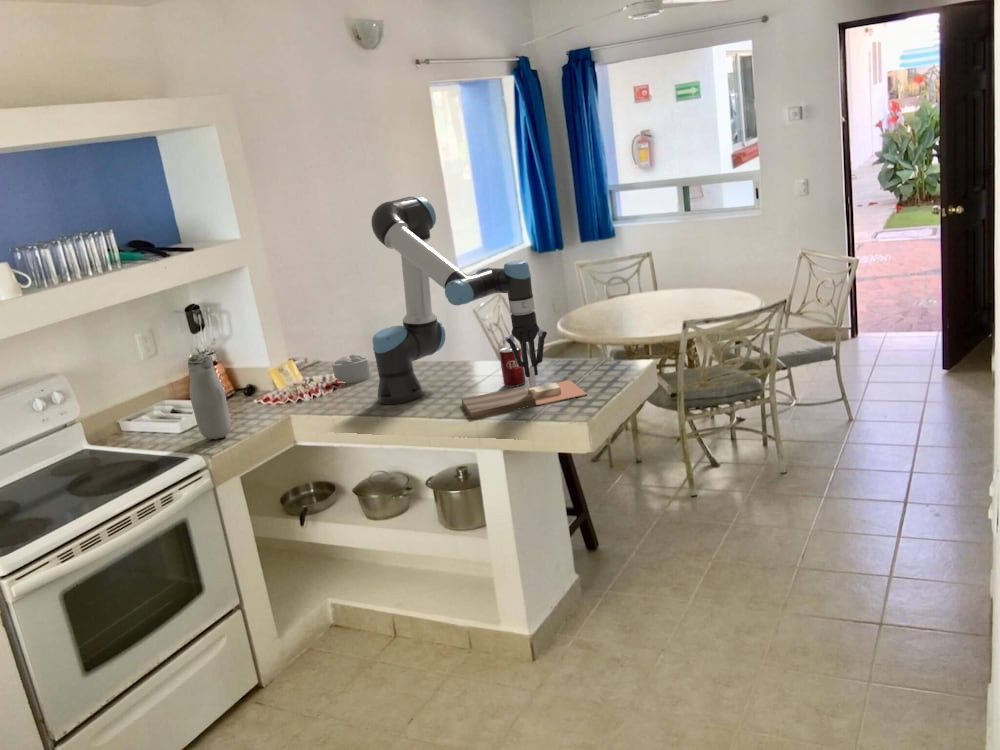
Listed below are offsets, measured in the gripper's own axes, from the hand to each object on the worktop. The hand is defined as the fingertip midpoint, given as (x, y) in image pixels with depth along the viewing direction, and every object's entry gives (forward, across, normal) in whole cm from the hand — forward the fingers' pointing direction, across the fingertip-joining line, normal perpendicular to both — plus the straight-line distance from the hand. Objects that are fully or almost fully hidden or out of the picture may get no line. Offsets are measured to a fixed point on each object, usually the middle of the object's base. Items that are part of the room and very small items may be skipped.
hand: (533, 386), depth 276 cm
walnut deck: (+4, -12, 0) cm, 12 cm away
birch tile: (+3, +3, 0) cm, 5 cm away
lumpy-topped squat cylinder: (+5, -52, +69) cm, 86 cm away
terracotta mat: (+4, +6, 0) cm, 7 cm away
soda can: (+4, -2, +19) cm, 19 cm away
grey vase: (+5, -99, +28) cm, 103 cm away
